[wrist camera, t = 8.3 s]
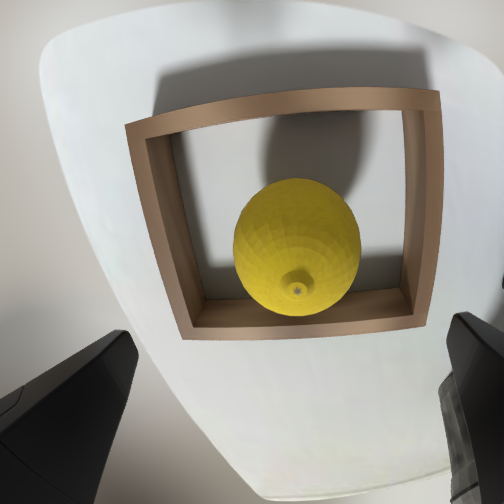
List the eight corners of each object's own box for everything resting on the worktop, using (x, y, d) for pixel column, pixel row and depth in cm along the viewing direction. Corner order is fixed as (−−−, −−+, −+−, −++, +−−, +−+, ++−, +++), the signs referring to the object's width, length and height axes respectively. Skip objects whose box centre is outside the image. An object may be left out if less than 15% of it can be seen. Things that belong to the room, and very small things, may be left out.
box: (415, 93, 13) (439, 90, 10) (411, 298, 18) (425, 326, 15) (151, 121, 15) (124, 124, 13) (195, 312, 21) (182, 339, 18)
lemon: (353, 246, 17) (385, 336, 10) (264, 266, 18) (243, 362, 11) (332, 154, 15) (366, 189, 8) (235, 180, 16) (186, 235, 9)
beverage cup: (429, 414, 23) (455, 579, 5) (420, 380, 21) (457, 589, 3) (488, 384, 21) (535, 540, 3) (489, 343, 19) (560, 534, 1)
